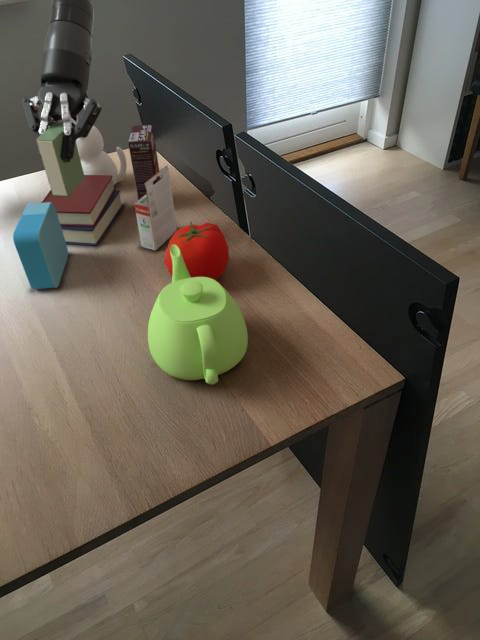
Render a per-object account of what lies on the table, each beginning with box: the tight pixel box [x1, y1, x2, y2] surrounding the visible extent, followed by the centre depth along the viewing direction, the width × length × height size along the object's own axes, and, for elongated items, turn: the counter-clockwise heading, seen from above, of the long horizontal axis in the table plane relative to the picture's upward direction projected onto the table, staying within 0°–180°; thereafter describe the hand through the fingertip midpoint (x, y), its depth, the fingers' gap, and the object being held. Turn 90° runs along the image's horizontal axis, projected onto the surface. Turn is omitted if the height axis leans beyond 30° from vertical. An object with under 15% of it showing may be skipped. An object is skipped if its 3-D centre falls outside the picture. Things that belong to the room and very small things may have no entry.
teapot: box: [147, 244, 249, 385], centre depth 80 cm, size 22×15×13 cm
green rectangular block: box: [35, 121, 85, 196], centre depth 92 cm, size 3×7×10 cm, turn 169°
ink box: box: [133, 165, 178, 251], centre depth 103 cm, size 4×8×15 cm, turn 153°
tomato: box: [164, 220, 230, 281], centre depth 95 cm, size 11×13×10 cm
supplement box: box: [127, 124, 161, 201], centre depth 114 cm, size 9×5×16 cm, turn 4°
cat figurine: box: [76, 124, 128, 187], centre depth 122 cm, size 9×12×15 cm
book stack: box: [40, 175, 124, 247], centre depth 112 cm, size 12×16×7 cm
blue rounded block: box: [12, 202, 69, 290], centre depth 97 cm, size 12×4×12 cm, turn 3°
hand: (55, 159), depth 90 cm, fingers closed on green rectangular block, 3 cm apart
